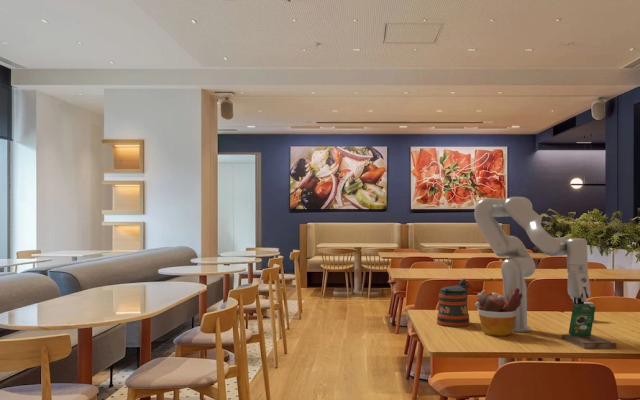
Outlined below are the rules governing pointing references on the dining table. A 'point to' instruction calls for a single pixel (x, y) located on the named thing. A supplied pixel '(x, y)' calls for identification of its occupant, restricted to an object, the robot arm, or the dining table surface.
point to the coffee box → (582, 319)
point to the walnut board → (589, 341)
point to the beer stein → (453, 306)
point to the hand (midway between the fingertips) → (578, 314)
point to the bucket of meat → (498, 312)
